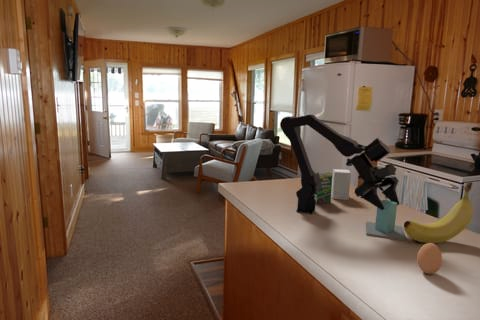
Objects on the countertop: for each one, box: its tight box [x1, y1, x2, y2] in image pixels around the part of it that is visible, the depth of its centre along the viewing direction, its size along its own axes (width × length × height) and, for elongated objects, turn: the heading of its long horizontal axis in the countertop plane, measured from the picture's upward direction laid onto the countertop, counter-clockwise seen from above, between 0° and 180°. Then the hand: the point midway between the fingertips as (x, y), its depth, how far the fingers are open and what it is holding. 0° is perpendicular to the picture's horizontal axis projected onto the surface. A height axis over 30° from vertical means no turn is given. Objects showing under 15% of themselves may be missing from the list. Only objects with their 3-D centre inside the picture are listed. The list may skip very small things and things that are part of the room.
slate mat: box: [365, 221, 407, 241], centre depth 119 cm, size 12×12×1 cm
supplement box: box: [331, 168, 352, 201], centre depth 157 cm, size 7×7×13 cm
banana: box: [403, 181, 474, 244], centre depth 109 cm, size 23×6×20 cm, turn 98°
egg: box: [416, 243, 443, 275], centre depth 90 cm, size 6×6×8 cm
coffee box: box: [313, 172, 333, 205], centre depth 148 cm, size 8×3×13 cm, turn 115°
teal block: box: [375, 199, 398, 233], centre depth 118 cm, size 4×4×10 cm
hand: (390, 207), depth 116 cm, fingers open, 9 cm apart
